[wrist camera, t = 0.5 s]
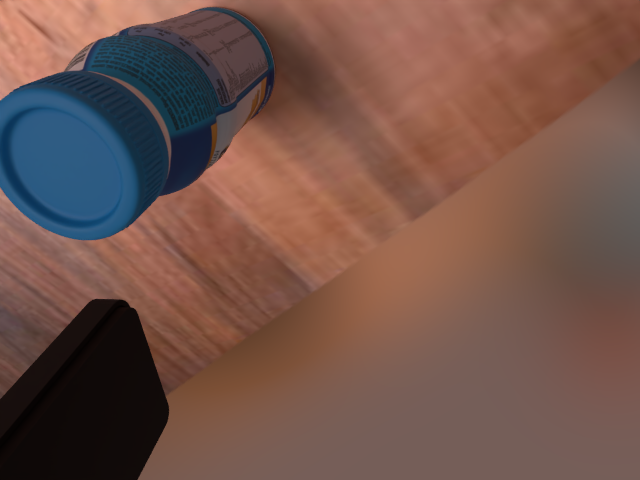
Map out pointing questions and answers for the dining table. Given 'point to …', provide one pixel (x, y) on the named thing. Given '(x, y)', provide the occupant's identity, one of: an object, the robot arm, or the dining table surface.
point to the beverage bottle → (131, 120)
